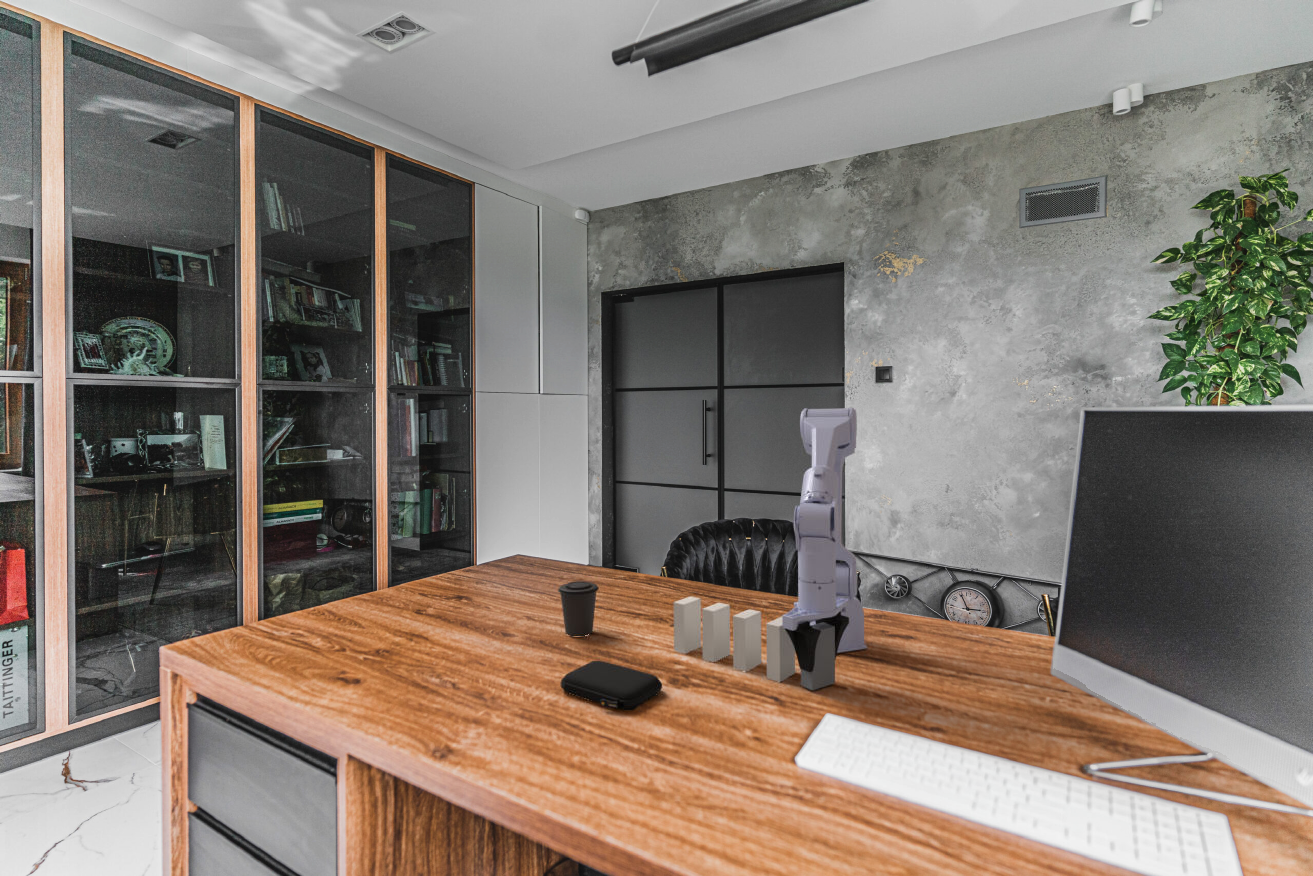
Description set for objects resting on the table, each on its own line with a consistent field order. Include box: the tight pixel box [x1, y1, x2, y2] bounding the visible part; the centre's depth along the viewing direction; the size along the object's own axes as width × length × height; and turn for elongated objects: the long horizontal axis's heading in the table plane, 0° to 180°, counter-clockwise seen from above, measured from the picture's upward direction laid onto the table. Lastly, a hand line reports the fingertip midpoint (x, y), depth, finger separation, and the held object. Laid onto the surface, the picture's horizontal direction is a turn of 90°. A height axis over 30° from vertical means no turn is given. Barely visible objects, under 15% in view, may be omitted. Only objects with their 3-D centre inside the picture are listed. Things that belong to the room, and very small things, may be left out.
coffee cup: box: [557, 580, 599, 636], centre depth 125 cm, size 8×8×10 cm
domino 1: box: [673, 595, 702, 655], centre depth 116 cm, size 2×5×9 cm, turn 139°
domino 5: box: [800, 622, 836, 691], centre depth 98 cm, size 2×5×9 cm, turn 122°
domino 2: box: [701, 602, 731, 663], centre depth 111 cm, size 2×5×9 cm, turn 139°
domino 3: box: [732, 608, 762, 673], centre depth 107 cm, size 2×5×9 cm, turn 139°
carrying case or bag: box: [560, 660, 663, 711], centre depth 97 cm, size 11×3×15 cm
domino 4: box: [765, 616, 796, 683], centre depth 103 cm, size 2×5×9 cm, turn 139°
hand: (817, 665), depth 99 cm, fingers closed on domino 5, 5 cm apart
